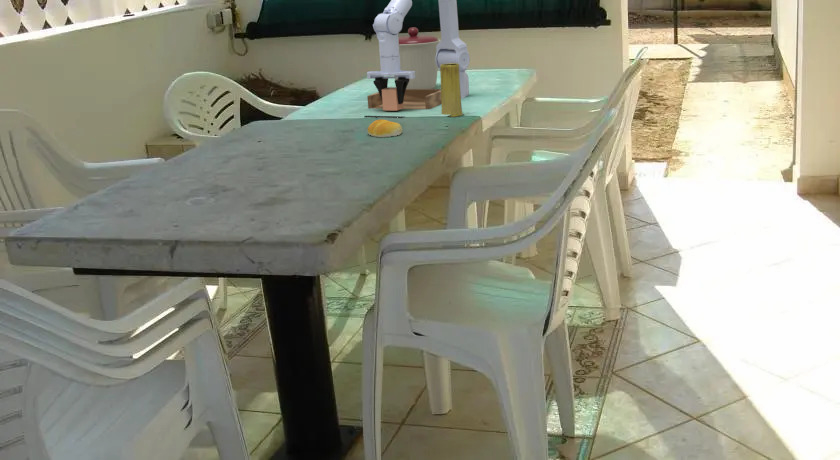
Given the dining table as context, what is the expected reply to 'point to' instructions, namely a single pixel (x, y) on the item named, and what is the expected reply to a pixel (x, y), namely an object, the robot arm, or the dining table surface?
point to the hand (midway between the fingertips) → (392, 103)
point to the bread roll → (384, 128)
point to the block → (390, 99)
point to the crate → (411, 99)
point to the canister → (419, 59)
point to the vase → (450, 90)
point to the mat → (384, 116)
